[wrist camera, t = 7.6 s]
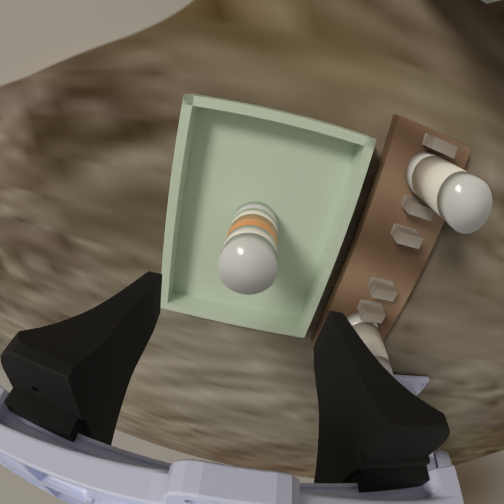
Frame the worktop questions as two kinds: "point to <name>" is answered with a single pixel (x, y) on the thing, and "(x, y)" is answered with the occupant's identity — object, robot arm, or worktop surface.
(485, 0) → the supplement box
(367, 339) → the cylinder
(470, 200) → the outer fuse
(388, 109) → the worktop surface
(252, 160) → the tray
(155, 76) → the worktop surface
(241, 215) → the marked fuse
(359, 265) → the fuse holder
